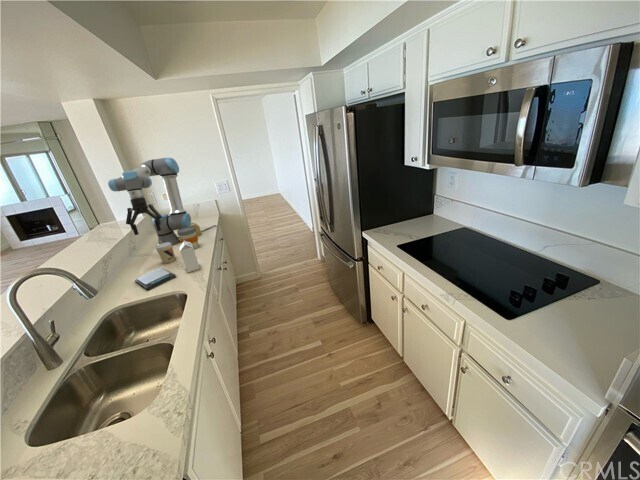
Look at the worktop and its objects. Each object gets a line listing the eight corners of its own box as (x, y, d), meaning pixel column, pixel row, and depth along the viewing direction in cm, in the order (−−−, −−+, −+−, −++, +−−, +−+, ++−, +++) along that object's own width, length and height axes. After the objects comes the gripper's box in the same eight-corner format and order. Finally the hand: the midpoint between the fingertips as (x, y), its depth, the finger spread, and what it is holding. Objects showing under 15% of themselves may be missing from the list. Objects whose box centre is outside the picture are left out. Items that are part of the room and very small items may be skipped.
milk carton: (187, 272, 161) (177, 244, 153) (187, 268, 167) (177, 240, 159) (199, 269, 164) (190, 241, 156) (199, 264, 170) (190, 237, 162)
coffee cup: (170, 264, 176) (164, 247, 171) (158, 264, 178) (152, 248, 173) (179, 257, 184) (173, 241, 179) (168, 257, 186) (162, 242, 181)
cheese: (202, 233, 225) (198, 222, 221) (192, 238, 217) (188, 227, 213) (193, 233, 230) (190, 222, 226) (183, 237, 221) (179, 226, 217)
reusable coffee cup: (184, 252, 191) (177, 233, 185) (182, 247, 201) (175, 229, 195) (202, 247, 196) (196, 228, 190) (199, 242, 206) (193, 224, 200)
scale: (162, 270, 168) (161, 266, 167) (176, 277, 157) (174, 273, 156) (135, 282, 157) (133, 278, 156) (147, 290, 146) (146, 286, 145)
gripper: (111, 202, 152) (123, 237, 156) (155, 194, 153) (165, 230, 158) (119, 201, 159) (131, 235, 164) (161, 194, 161) (171, 228, 165)
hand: (148, 232), depth 161 cm, fingers open, 13 cm apart
